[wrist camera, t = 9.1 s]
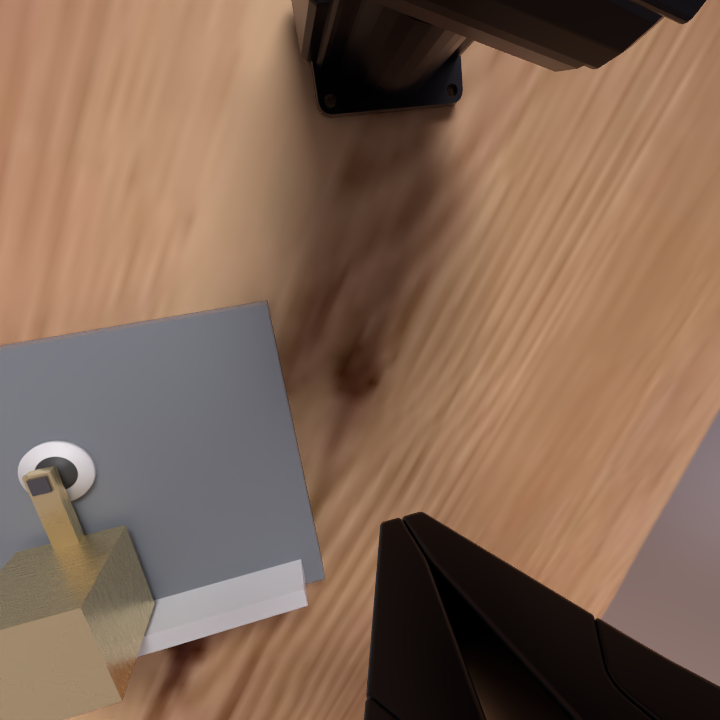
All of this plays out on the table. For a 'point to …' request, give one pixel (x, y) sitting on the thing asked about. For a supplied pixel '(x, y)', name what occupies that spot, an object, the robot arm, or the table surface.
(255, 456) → the hole plate
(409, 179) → the table surface
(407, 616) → the robot arm
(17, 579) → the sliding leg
